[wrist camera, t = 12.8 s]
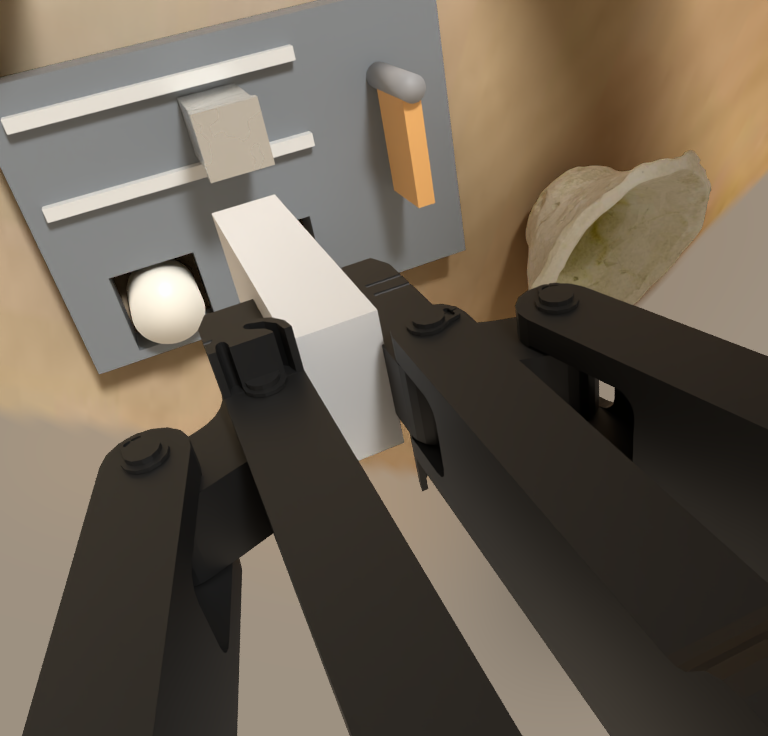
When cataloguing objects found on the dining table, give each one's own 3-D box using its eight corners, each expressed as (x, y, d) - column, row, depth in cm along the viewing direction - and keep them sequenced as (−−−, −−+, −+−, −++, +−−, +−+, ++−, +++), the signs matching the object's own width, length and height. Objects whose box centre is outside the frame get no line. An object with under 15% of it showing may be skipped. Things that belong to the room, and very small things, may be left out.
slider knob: (174, 96, 37) (189, 115, 32) (235, 80, 37) (257, 96, 33) (194, 158, 38) (210, 183, 34) (251, 141, 39) (275, 164, 35)
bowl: (517, 351, 57) (594, 418, 49) (438, 214, 48) (514, 268, 40) (669, 235, 57) (770, 282, 49) (615, 78, 48) (727, 104, 40)
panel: (-30, 84, 35) (-37, 94, 33) (414, -24, 41) (438, -22, 38) (97, 355, 44) (99, 379, 42) (448, 237, 49) (469, 253, 47)
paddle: (364, 65, 39) (397, 77, 35) (388, 58, 40) (423, 70, 36) (386, 187, 43) (418, 211, 39) (407, 181, 43) (441, 203, 40)
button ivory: (116, 270, 42) (120, 292, 39) (183, 249, 43) (192, 269, 40) (140, 328, 44) (146, 353, 41) (204, 307, 45) (214, 330, 42)
